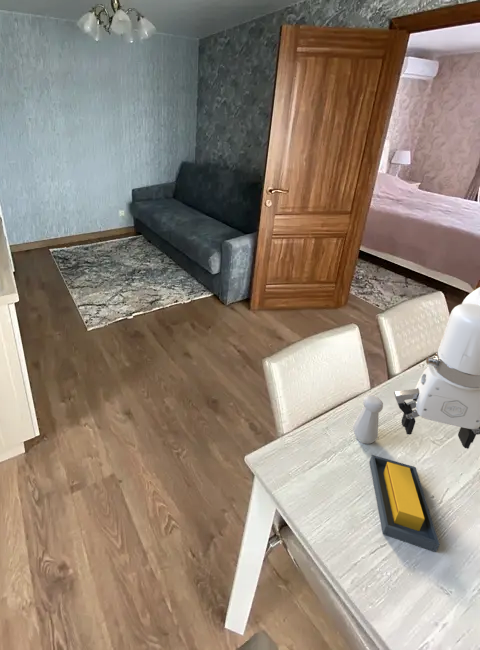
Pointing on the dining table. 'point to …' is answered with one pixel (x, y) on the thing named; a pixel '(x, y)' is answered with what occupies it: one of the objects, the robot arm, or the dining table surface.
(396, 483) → the block
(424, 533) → the tray
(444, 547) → the dining table surface
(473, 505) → the dining table surface
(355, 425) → the salt shaker
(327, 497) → the dining table surface
